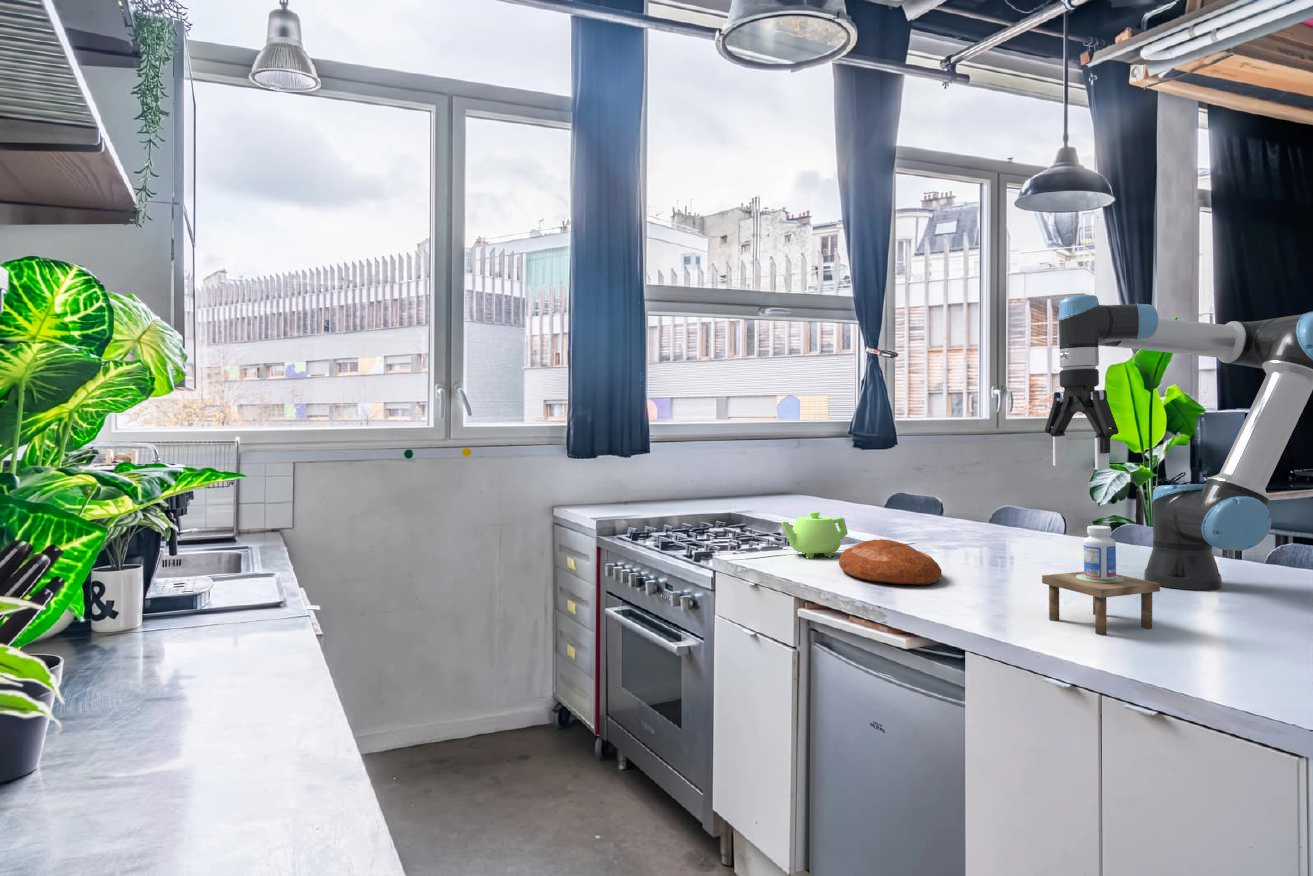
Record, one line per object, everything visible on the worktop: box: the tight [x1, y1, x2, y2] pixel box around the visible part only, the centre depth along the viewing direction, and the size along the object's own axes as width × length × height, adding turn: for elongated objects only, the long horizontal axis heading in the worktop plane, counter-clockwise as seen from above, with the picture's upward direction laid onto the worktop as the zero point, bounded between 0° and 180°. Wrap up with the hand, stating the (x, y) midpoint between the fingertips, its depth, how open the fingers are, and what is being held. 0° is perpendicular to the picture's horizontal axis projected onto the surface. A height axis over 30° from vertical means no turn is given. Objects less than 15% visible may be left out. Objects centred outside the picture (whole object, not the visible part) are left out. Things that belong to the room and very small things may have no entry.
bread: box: [838, 538, 942, 586], centre depth 206 cm, size 23×32×9 cm
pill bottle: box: [1083, 525, 1117, 580], centre depth 156 cm, size 6×5×10 cm
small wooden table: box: [1041, 571, 1161, 636], centre depth 156 cm, size 14×14×9 cm
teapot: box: [781, 511, 849, 559], centre depth 236 cm, size 20×13×13 cm
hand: (1080, 467), depth 176 cm, fingers open, 13 cm apart
